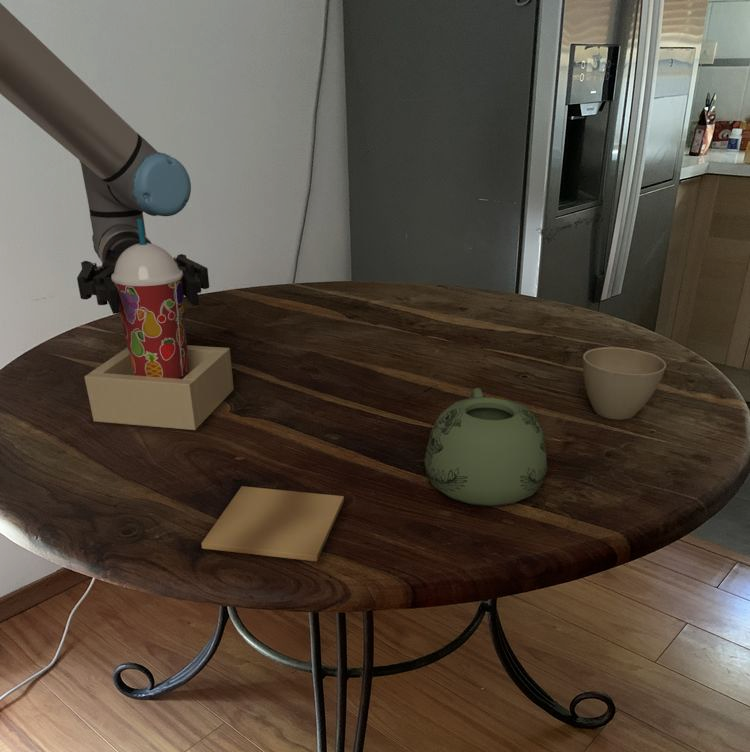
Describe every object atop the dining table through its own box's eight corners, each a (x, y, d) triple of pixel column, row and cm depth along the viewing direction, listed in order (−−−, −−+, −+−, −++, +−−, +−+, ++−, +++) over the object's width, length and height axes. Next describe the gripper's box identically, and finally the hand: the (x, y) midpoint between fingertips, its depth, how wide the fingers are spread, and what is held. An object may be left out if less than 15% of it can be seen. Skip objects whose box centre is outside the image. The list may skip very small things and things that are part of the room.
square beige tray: (93, 421, 92) (83, 376, 89) (142, 382, 104) (135, 341, 101) (195, 430, 90) (189, 384, 87) (233, 389, 102) (229, 347, 99)
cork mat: (201, 548, 68) (201, 543, 68) (242, 490, 77) (241, 485, 77) (317, 561, 66) (316, 556, 66) (344, 501, 75) (343, 496, 75)
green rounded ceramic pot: (557, 514, 73) (569, 435, 69) (428, 515, 73) (432, 436, 69) (524, 443, 87) (532, 374, 83) (416, 445, 87) (418, 375, 82)
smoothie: (207, 374, 98) (189, 215, 88) (174, 397, 91) (152, 227, 81) (151, 367, 100) (128, 211, 90) (115, 389, 93) (86, 222, 83)
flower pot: (603, 432, 90) (613, 377, 86) (560, 402, 98) (568, 351, 95) (671, 422, 93) (683, 368, 89) (624, 393, 101) (634, 343, 97)
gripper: (207, 279, 109) (246, 320, 91) (55, 292, 102) (65, 339, 84) (202, 226, 105) (242, 258, 87) (43, 235, 98) (51, 272, 80)
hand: (155, 298), depth 86 cm, fingers closed on smoothie, 8 cm apart
